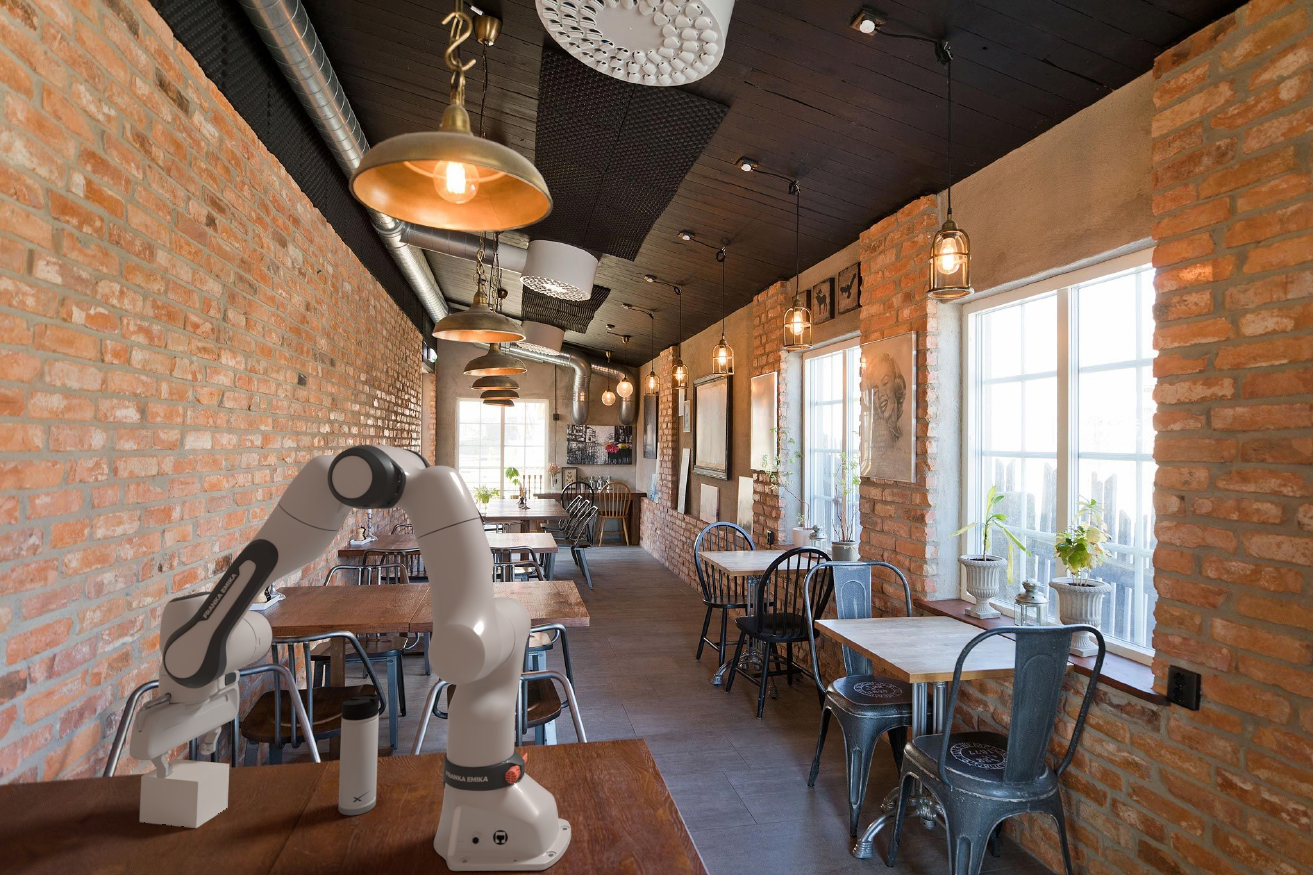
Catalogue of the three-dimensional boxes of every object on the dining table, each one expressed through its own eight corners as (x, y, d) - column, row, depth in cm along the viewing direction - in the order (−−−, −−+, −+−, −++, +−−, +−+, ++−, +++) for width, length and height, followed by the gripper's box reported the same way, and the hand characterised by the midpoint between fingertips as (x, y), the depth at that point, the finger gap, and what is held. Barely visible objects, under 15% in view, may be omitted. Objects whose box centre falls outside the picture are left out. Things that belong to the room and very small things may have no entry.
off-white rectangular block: (227, 807, 125) (229, 763, 125) (196, 828, 118) (198, 781, 118) (173, 802, 126) (175, 758, 127) (139, 821, 119) (141, 775, 120)
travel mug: (363, 818, 122) (367, 703, 123) (330, 813, 123) (334, 700, 124) (384, 801, 128) (388, 691, 129) (352, 797, 129) (356, 688, 130)
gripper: (154, 706, 112) (151, 793, 112) (246, 669, 132) (245, 742, 132) (119, 704, 113) (117, 790, 112) (216, 667, 133) (215, 740, 133)
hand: (187, 764), depth 122 cm, fingers open, 8 cm apart
